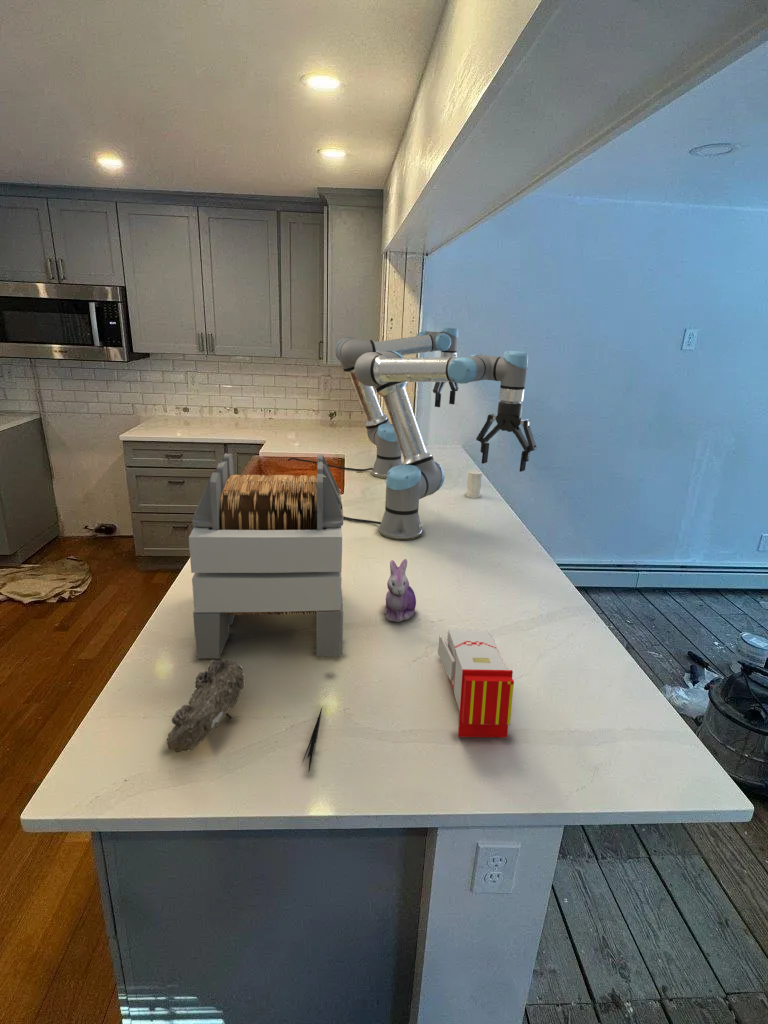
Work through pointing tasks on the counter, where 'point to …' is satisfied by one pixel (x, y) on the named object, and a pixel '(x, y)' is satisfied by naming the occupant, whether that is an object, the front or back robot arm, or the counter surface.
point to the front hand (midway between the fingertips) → (502, 466)
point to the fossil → (206, 705)
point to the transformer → (267, 553)
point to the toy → (478, 682)
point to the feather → (313, 740)
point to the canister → (474, 484)
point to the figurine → (399, 594)
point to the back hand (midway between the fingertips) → (444, 405)
